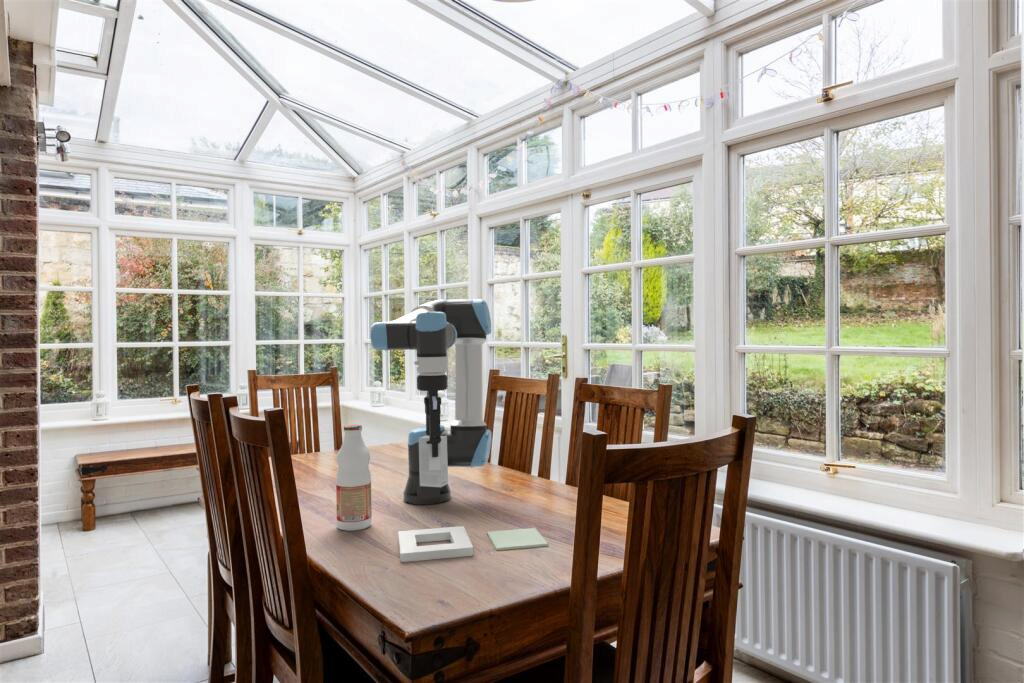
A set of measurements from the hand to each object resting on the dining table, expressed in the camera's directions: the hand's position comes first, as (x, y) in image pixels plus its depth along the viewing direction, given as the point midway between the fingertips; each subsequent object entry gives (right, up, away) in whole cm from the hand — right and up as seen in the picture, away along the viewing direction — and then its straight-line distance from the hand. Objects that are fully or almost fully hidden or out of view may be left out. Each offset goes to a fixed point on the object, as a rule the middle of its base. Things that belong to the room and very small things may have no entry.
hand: (433, 466), depth 152 cm
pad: (+21, -20, +4) cm, 29 cm away
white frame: (0, -20, 0) cm, 20 cm away
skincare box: (0, -5, 0) cm, 5 cm away
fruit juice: (-24, -20, +18) cm, 37 cm away
